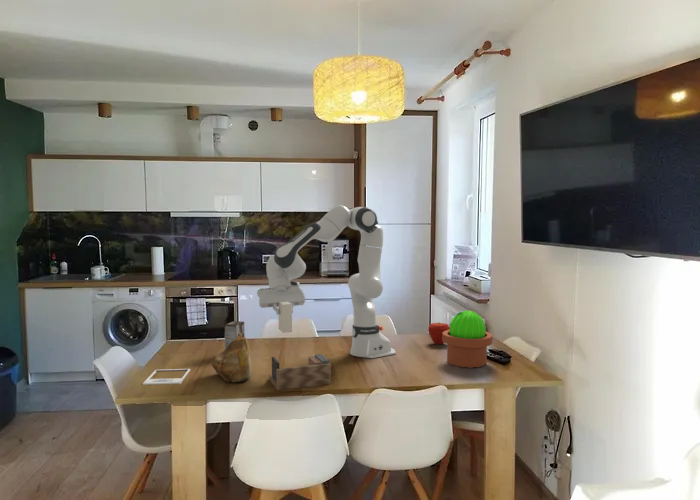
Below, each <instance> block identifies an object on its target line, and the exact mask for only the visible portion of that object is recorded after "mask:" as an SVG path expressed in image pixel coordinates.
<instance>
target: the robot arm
mask: <svg viewBox="0 0 700 500" xmlns="http://www.w3.org/2000/svg"><path fill="white" fill-rule="evenodd" d="M346 228H348V229H350V230H353V231H359V233H360V243H359V247H358V248H359V249H358V255H357V263H358V273H354V274H352V275H350V277H349V279H348V281H347V283H348V284H347V286H348V288H349V292H350V296H351V303H352V308H353V309H352V310H353V312H352V315H353V316H352V317H353V318H352V320H353V322H352V323H353V324H352V328H351V329H352V330H351V335H352V340H351V341H352V342H351V348H350V351H349V354H350V355H351V356H353V357H354V356H355V357H359V358H368V359H375V358H376V359H377V358H380V357H388V356H393V355H396V354H397V353H396V350H395V349H394V348H392V344H391V340H390V339H389V338H388V337H386V336H385V335H384V334H383V333H381V332H382V331H383V330H384V327H383V326H381V325H378V324H377V309H376V306H375V303H374V299H377V298H379V297H380V296H381V295H382V293H383V290H384V285H383V283H382V281H381V280H382V279H381V259H382V252H383V245H384V229H383V227H382V226H381V225H380V224H379V222H378V216H377V213H376V212H375V210H373V209H372V208H370V207H367V206H357V207H351V208H348V207H346V206H345V205H342V204H338V205H335V206H334V207H333V208H332V209H330V210H329V211H327V212H326V213H325V215H323V217H322V218H320V220H318V221H316V222H313V223H310V224H308V225H307V226H306V227H304V228H303V229H302V230H301V231H299V232H298V233H297V234H295V235H294V236H293V237H292V238H291V239H290V240H289V241H287V242H286V243H284V244H282V245H280V246H279V247H278V248H277V249H276V250H275V252H274V255H273V256H271V257H269V259H267V262H266V266H265V267H266V268H265V270H266V277H267V279H268V287H267V288H265V287H264V288H259V289H258V290H257V291H256V294H257V297H258V304H259V307H260V308H261V309H262V308H272V309H273V310H274V312H275V313H276V315H277V316H279V314H280V313H281V311H280V309H278V303H279V302H289V303H291V304H292V314H294V313H293V312H294V311H293V310H294V309H293V308H294V306H295V307H296V306H297V307H298V306H304V305H305V303H306V297H305V296H306V295H305V293H304V290H303V289H302V288H301V287H300V286H301V285H300V284H301V283H300V282H298V281H295V279H299V278H301V277H302V276H303V275H305V273H306V270H307V265H306V262H305V261H304V260H303V259H302V257H301V256H300V255H299V254H298V252H299V251H300V250H301V249H302V248H303V247H305V245H307V244H308V243H309V242H310V241H312V240H318V241H320V242H323V243H330V242H332V241H334V240H336V238H337V237H338V236H339V235H340V234H341V233H342V232H343V230H344V229H346ZM293 280H294V281H293Z"/></svg>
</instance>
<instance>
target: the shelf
mask: <svg viewBox="0 0 700 500" xmlns="http://www.w3.org/2000/svg"><path fill="white" fill-rule="evenodd" d="M307 361H308V365H303V366H292V367H285V368H280V361H278V360H277V358H276V357H275V356H271V374H269V375H268V378H269V379H270V380H269V381H270V382H271V384H272V386H273V387H274V386H275V387H274V388H275V389H276V391H282V390H290V389H291V390H292V389H299V388H307V387H313V386H314V387H315V386H322V385H323V386H324V385H330V384H332V364H331V363H330V360H329V359H328V358H327V357H325V356H324V355H323V354H322V353H317V354H314V355H312V356H308V360H307Z"/></svg>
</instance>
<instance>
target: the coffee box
mask: <svg viewBox="0 0 700 500" xmlns="http://www.w3.org/2000/svg"><path fill="white" fill-rule="evenodd" d="M238 336H240V337H241V338H242V337H245V321H237V320H235V321H230V322H228V323H225V324H224V350H225V349H226V348H227V347H228V345H230V343H231V342H232V341H233V340H235V338H236V337H238Z"/></svg>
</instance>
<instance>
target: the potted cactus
mask: <svg viewBox="0 0 700 500" xmlns="http://www.w3.org/2000/svg"><path fill="white" fill-rule="evenodd" d="M448 325H449V327H450V330H446V331H444V332H443V333H442V341H443V342H444V343H443V344H447V345H446V347H447V348H446V349H447V350H446V361H447V363H448V364H449V363H450V365H451V364H452V365H451V366H454V365H455V367H458V366H459V368H464V367H468V368H467V369H474V368H473V367H478V368H481V366H482V367H484V366H486V365H487V355H488V352H487V350H488V347H490V346H491V345H492V344H493V334H492V333H490V332H488V331H486V324H485V320H484V319H483V318H482V316H481V315H480V314H479V313H478V312H475V311H474V310H461V311H459V312H458V313H456V314H455V315H454V316H453V317H451V321H450V323H449V324H448ZM485 364H486V365H485ZM483 365H484V366H483Z"/></svg>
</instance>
